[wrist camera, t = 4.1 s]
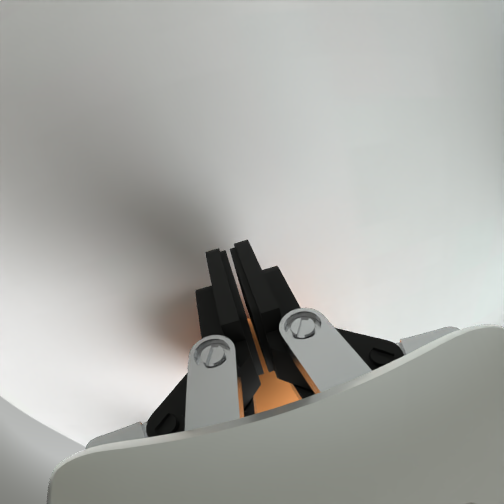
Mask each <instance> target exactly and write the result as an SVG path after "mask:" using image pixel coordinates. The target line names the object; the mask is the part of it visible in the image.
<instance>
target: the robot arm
mask: <svg viewBox="0 0 504 504" xmlns="http://www.w3.org/2000/svg"><path fill="white" fill-rule="evenodd" d="M234 246H235V247H234V248H231V249H230V252H231V255H232V259H233V262H234V266H235V269H236V273H237V276H238V280H239V283H240V287H241V290H242V294H243V297H244V301H245V304H246V307H247V310H248V313H249V316H250V319H251V322H252V325H253V328H254V331H255V334H256V337H257V340H258V342H259V345H260V348H261V351H262V354H263V357H264V360H265V363H266V366H267V369H268V371H269V372H272V371H275V374H276V376H277V378H279V379H280V380H283V381H286V382H289V383H290V385H291V387H292V389H293V391H294V392H295V394H296V396H297V397H298V399H299V400H298V401H295V402H292V403H289V404H286V405H283V406H280V407H277V408H274V409H270V410H267V411H264V412H260V413H257V407H256V399H255V396H254V394H255V393H256V391H257V390H258V388H259V387H260V385H261V382H260V379H259V375H262V374H264V372H263V368H262V365H261V362H260V359H259V356H258V352H257V349H256V346H255V343H254V340H253V336H252V333H251V330H250V327H249V323H248V320H247V317H246V314H245V311H244V307H243V304H242V301H241V298H240V295H239V292H238V289H237V286H236V282H235V279H234V276H233V273H232V270H231V267H230V263H229V260H228V257H227V254H226V251H225V250H224V251H221V252H220V250H219V248H218V249H215V250H211V251H208V252H205V253H206V258H207V263H208V268H209V273H210V278H211V283H212V286H208V287H205V288H202V289H198V290H196V291H195V292H196V301H197V308H198V315H199V322H200V329H201V336H202V339H201V340H199V341H198V342H197V343H196V344H194V346H193V347H192V349H191V350H190V353H189V360H188V373H187V374H186V375H185V376H184V378H183V379H182V380H181V381H180V382H179V384H178V385H177V386H176V387H175V388H174V389H173V391H172V392H171V393H170V394H169V395H168V396H167V398H166V399H165V400H164V401H163V402H162V403H161V405H160V406H159V407H158V408H157V409H156V410H155V412H154V413H153V414H152V415H151V417H150V418H149V420H148V422H146V423H143V424H142V423H141V422H138V423H135V424H133V425H130V426H127V427H125V428H122V429H119V430H116V431H114V432H111V433H108V434H105V435H102V436H99V437H96V438H94V439H93V440H91V441H90V442H89V443H88V444H87V446H86V449H85V450H83V451H80V452H78V453H76V454H73V455H71V456H69V457H67V458H66V459H65V460H63V461H62V462H61V463H59V464H58V465H57V466H56V468H55V469H54V470H53V472H52V475H51V478H50V481H49V486H48V493H47V504H504V327H502V326H499V325H491V324H486V325H477V326H471V327H467V328H463V329H458V328H456V327H444V328H441V329H437V330H434V331H430V332H427V333H423V334H419V335H416V336H412V337H408V338H404V339H400V343H396V344H395V343H393V342H390V341H388V340H383V339H379V338H375V337H370V336H366V335H362V334H358V333H353V332H349V331H345V330H341V329H337V328H334V327H333V325H332V324H331V323H330V322H329V321H328V320H327V319H326V318H325V316H324V315H323V314H321V313H320V312H319V311H317V310H314V309H311V308H300V306H299V304H298V302H297V301H296V299H295V297H294V295H293V293H292V291H291V290H290V288H289V286H288V284H287V282H286V280H285V279H284V277H283V275H282V273H281V271H280V269H279V268H278V266H275V267H271V268H268V269H265V270H262V269H261V267H260V265H259V263H258V261H257V259H256V256H255V254H254V252H253V250H252V248H251V246H250V243H249V241H248V240H245V241H242V242H238V243H235V244H234Z"/></svg>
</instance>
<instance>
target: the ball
mask: <svg viewBox="0 0 504 504" xmlns="http://www.w3.org/2000/svg"><path fill="white" fill-rule="evenodd" d="M247 320H248V323H249V327H250V330H251V333H252V336H253V340H254V343H255V346H256V349H257V352H258V356H259V359H260V362H261V365H262V368H263V372H264V374H262V375H259V379H260V382H261V385H260V387H259V388H258V390H257V391H256V393H255V394H254V396H255V399H256V407H257V413H260V412H264V411H267V410H270V409H274V408H277V407H280V406H283V405H286V404H289V403H292V402H295V401H298V400H299V399H298V397H297V396H296V394H295V392H294V391H293V389H292V387H291V385H290V383H289V382H286V381H283V380H280V379H279V378H277V376H276V374H275V371H272V372H269V371H268V369H267V366H266V363H265V360H264V357H263V354H262V351H261V348H260V345H259V342H258V340H257V337H256V334H255V331H254V328H253V325H252V322H251V319H250V318H247Z"/></svg>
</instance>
